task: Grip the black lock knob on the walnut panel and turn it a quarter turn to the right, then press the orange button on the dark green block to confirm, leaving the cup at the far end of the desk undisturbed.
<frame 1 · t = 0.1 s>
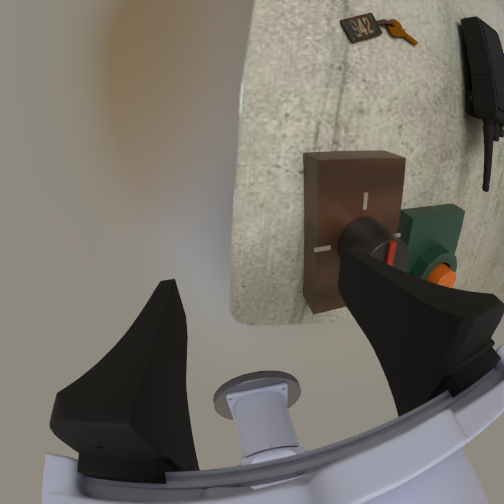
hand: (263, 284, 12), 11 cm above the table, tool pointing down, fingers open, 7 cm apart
knob: (374, 254, 20), point 5 cm above the table, hinge at 0.0°
button: (440, 281, 25), point 4 cm above the table, slide at 0.1 cm
lock panel: (344, 226, 25), on the table
walkie-talkie: (471, 98, 20), on the table
button block: (421, 246, 28), on the table
key tag: (380, 34, 16), on the table
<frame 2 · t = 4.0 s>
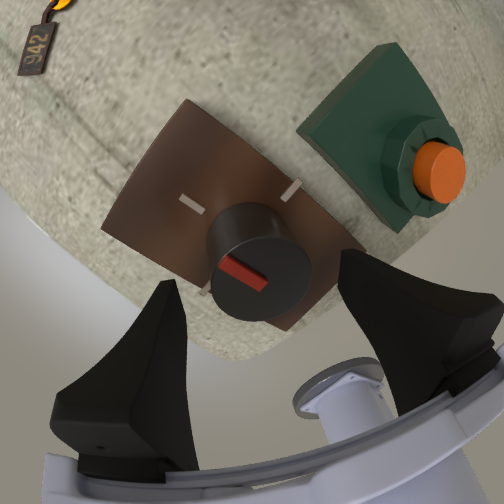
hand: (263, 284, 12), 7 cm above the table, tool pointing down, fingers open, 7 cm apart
knob: (254, 261, 13), point 5 cm above the table, hinge at 0.0°
button: (440, 171, 14), point 4 cm above the table, slide at 0.1 cm
lock panel: (239, 219, 18), on the table
button block: (384, 136, 16), on the table
key tag: (58, 23, 9), on the table
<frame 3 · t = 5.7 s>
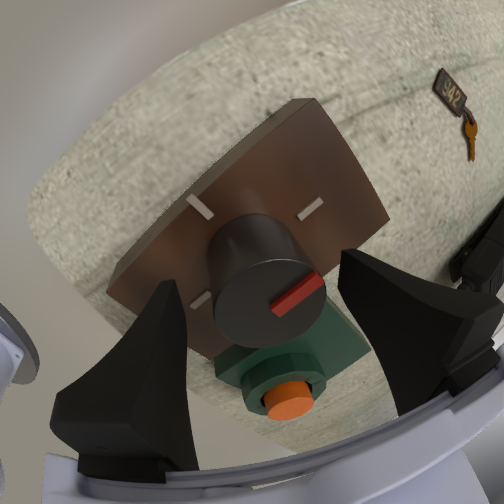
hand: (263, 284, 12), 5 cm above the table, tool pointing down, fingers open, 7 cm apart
knob: (261, 281, 12), point 5 cm above the table, hinge at 0.0°
button: (288, 400, 19), point 4 cm above the table, slide at 0.1 cm
lock panel: (242, 230, 16), on the table
walkie-talkie: (461, 258, 22), on the table
button block: (293, 346, 22), on the table
key tag: (456, 117, 15), on the table
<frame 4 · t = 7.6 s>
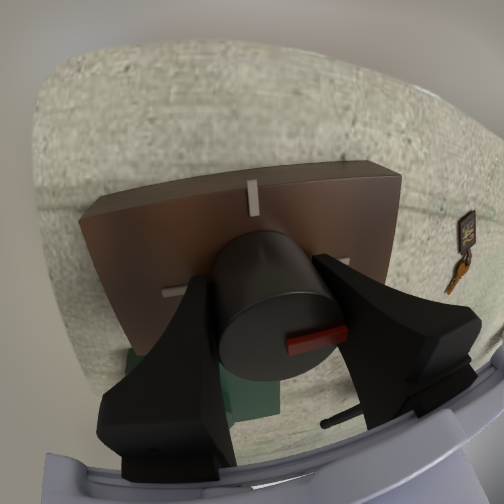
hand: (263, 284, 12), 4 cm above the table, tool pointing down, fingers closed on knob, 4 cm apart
knob: (271, 308, 10), point 5 cm above the table, hinge at -0.1°, touching gripper
lock panel: (247, 244, 15), on the table
walkie-talkie: (389, 368, 26), on the table
button block: (209, 377, 20), on the table
key tag: (458, 253, 19), on the table
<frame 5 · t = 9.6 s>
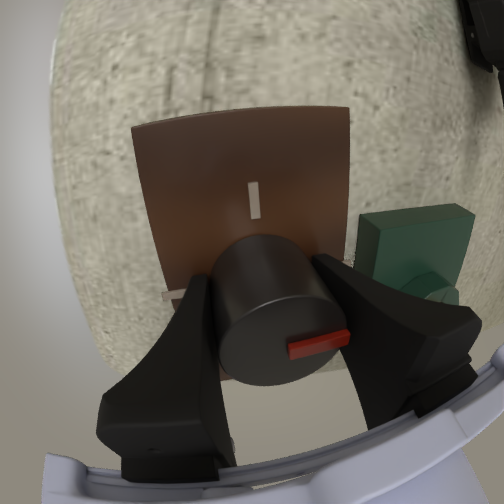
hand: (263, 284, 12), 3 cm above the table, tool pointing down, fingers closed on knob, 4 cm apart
knob: (272, 312, 10), point 5 cm above the table, hinge at -89.7°, touching gripper
lock panel: (248, 247, 15), on the table
walkie-talkie: (474, 42, 10), on the table
button block: (402, 271, 18), on the table
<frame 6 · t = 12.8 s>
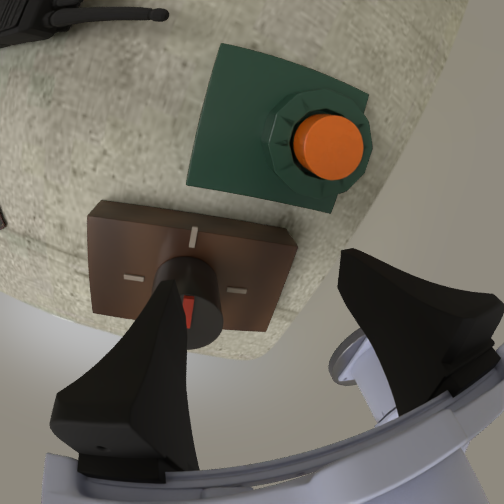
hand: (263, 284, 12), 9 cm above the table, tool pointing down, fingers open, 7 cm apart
knob: (185, 304, 17), point 5 cm above the table, hinge at -89.3°
button: (328, 145, 14), point 4 cm above the table, slide at 0.1 cm
lock panel: (186, 261, 21), on the table
walkie-talkie: (56, 14, 10), on the table
button block: (274, 128, 17), on the table
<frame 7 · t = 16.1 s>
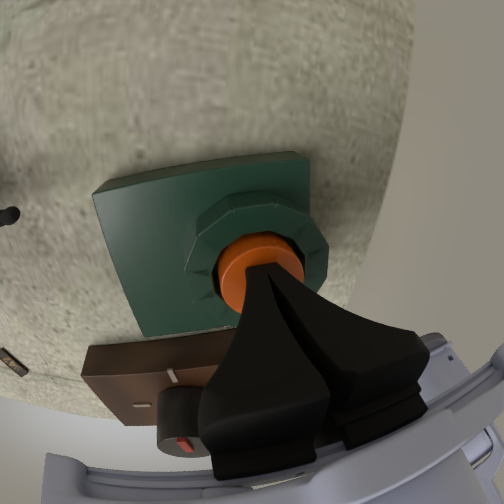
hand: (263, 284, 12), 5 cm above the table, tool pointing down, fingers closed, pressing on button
knob: (188, 426, 16), point 5 cm above the table, hinge at -89.3°
button: (259, 273, 12), point 4 cm above the table, slide at -0.5 cm, touching gripper
lock panel: (185, 370, 21), on the table
button block: (210, 241, 15), on the table
key tag: (3, 347, 16), on the table
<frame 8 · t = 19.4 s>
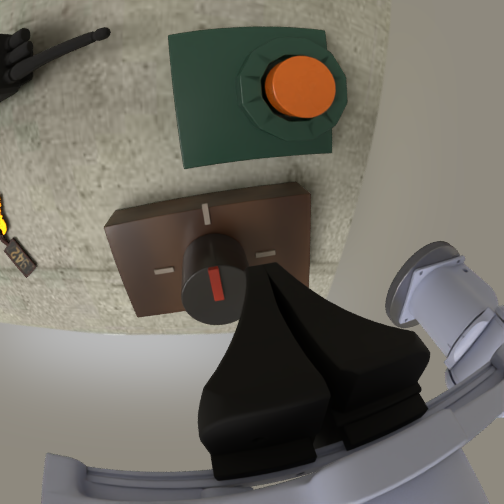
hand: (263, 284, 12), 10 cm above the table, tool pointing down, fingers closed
knob: (216, 279, 17), point 5 cm above the table, hinge at -89.3°
button: (300, 87, 13), point 4 cm above the table, slide at 0.1 cm
lock panel: (211, 241, 22), on the table
walkie-talkie: (15, 70, 11), on the table
button block: (250, 92, 17), on the table
key tag: (15, 236, 18), on the table
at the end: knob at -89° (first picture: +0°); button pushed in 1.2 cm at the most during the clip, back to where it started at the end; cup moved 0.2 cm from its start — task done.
